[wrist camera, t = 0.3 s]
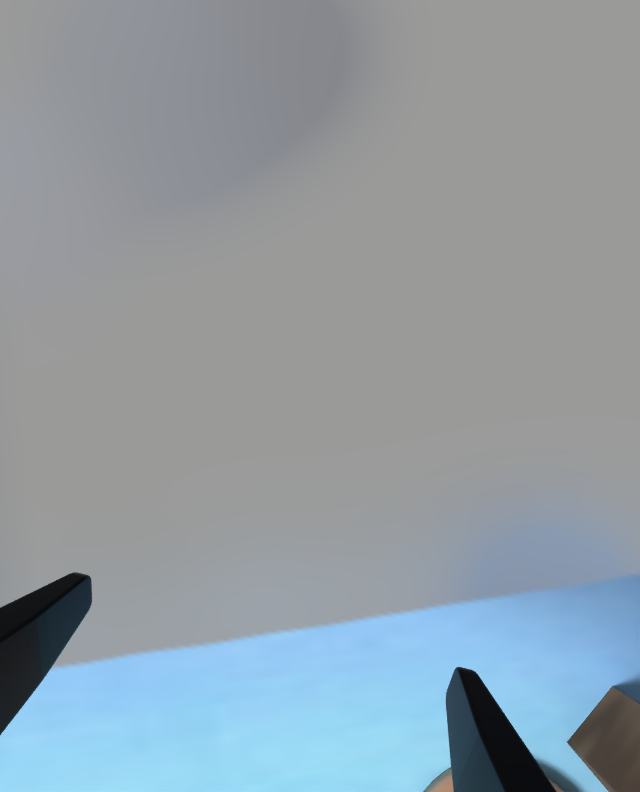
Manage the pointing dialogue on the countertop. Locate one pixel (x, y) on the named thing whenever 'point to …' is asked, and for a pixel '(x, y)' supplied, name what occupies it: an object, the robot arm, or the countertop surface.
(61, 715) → the countertop surface
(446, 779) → the tan flat disc
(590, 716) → the walnut block
